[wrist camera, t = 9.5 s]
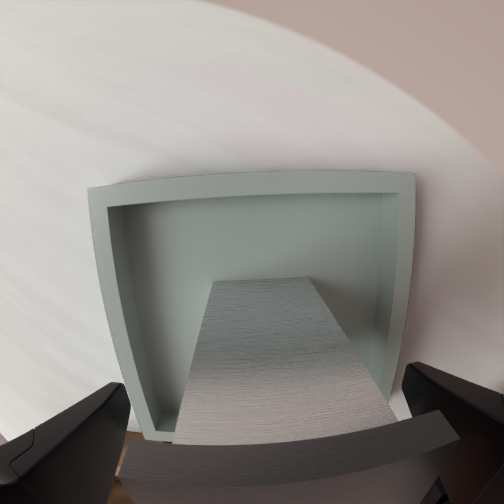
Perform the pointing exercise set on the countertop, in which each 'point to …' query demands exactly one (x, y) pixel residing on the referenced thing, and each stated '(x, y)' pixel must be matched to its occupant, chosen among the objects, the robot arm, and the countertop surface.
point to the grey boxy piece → (284, 414)
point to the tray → (248, 265)
